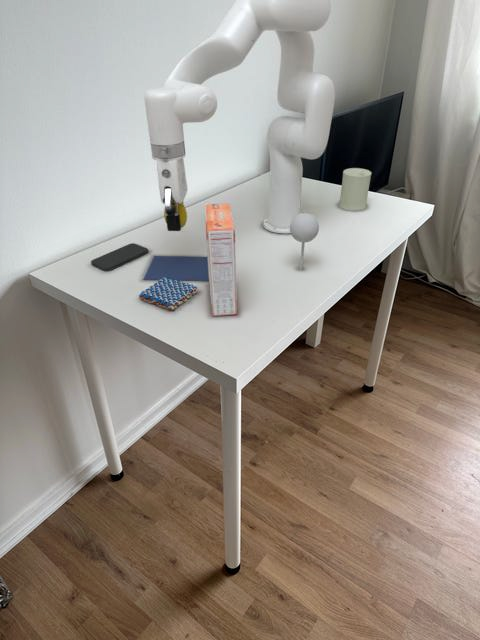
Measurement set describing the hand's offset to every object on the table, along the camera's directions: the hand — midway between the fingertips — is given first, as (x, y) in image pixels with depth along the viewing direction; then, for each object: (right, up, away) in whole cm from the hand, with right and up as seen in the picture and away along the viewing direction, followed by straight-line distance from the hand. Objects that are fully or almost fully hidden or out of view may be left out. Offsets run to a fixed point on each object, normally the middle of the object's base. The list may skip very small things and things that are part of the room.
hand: (176, 224), depth 112 cm
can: (+54, +15, +43) cm, 71 cm away
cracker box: (+12, -19, -6) cm, 23 cm away
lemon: (0, -1, +1) cm, 2 cm away
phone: (-17, -7, +12) cm, 22 cm away
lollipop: (+32, -11, +6) cm, 34 cm away
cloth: (+1, -10, +7) cm, 12 cm away
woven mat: (-1, -18, -5) cm, 19 cm away
